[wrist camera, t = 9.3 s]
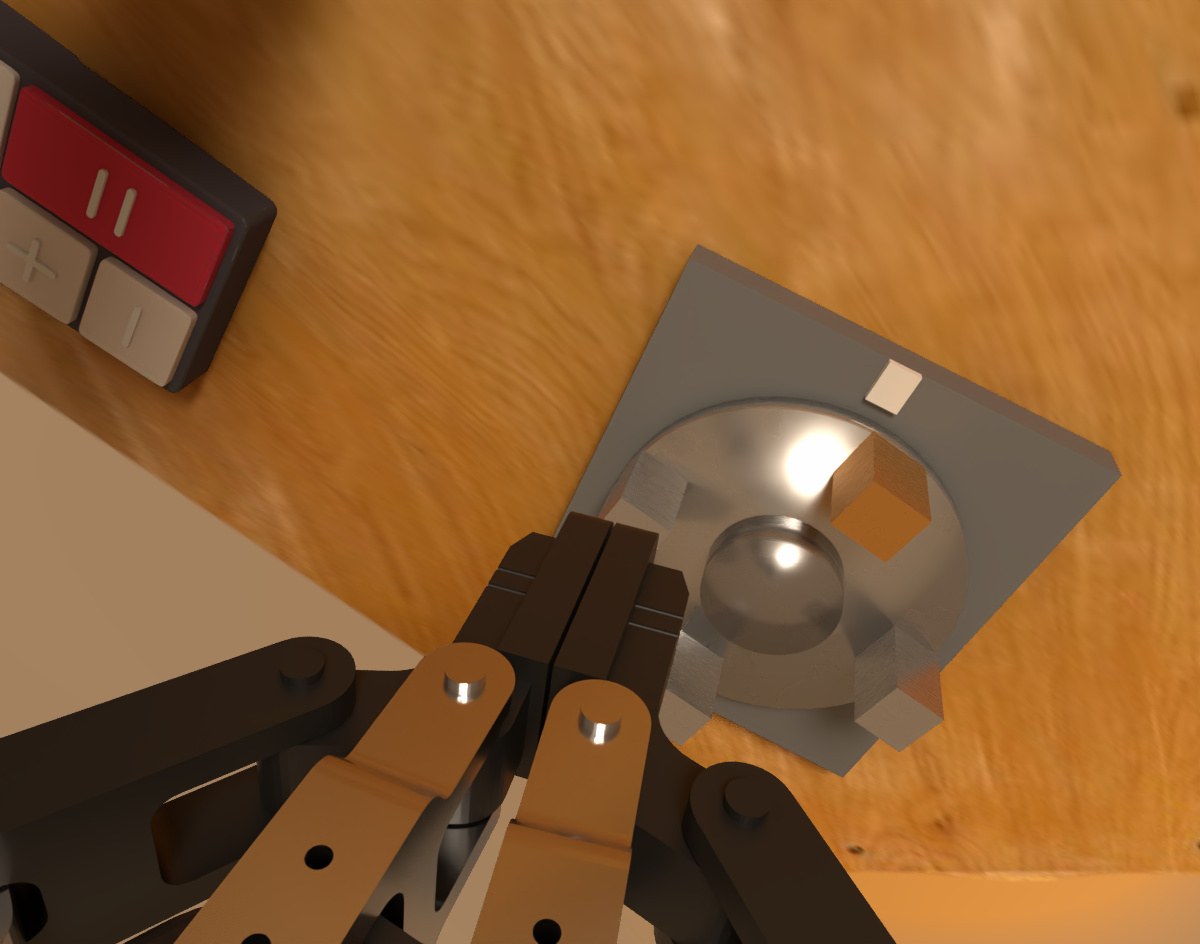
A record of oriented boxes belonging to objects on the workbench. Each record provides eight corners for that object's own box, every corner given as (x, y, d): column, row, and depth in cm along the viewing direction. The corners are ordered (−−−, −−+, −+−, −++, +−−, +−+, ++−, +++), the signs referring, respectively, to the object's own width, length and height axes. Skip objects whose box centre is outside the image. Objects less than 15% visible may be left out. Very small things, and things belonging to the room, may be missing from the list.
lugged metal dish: (571, 414, 40) (535, 472, 36) (958, 377, 35) (971, 438, 31) (641, 691, 47) (618, 766, 43) (972, 693, 42) (984, 779, 38)
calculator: (166, 404, 44) (-118, 219, 42) (215, 367, 48) (-45, 195, 46) (241, 228, 39) (-85, 1, 36) (290, 201, 42) (-3, -7, 40)
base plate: (528, 589, 49) (513, 617, 47) (697, 244, 37) (688, 261, 35) (843, 748, 49) (842, 783, 47) (1110, 451, 37) (1124, 480, 35)
